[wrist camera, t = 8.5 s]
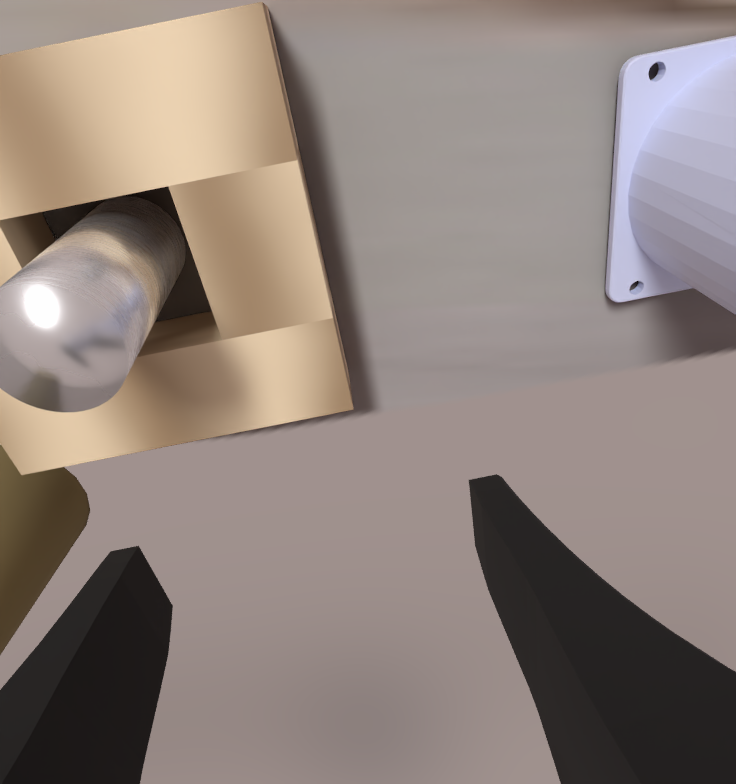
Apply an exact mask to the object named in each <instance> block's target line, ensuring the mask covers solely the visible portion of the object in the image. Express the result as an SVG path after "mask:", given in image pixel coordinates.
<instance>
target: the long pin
mask: <svg viewBox="0 0 736 784" xmlns="http://www.w3.org/2000/svg"><path fill="white" fill-rule="evenodd" d="M185 257H186V247H185V241H184V238H183V235H182V233H181V230H180V229H179V227H178V225H177V224H176V222H175V221H174V220H173V218H172V217H171V216H170V215H169V214H168V213H167V212H166V211H164V210H163V209H162V208H160V207H159V206H157V205H156V204H154V203H152V202H150V201H147V200H145V199H141V198H138V197H131V196H122V197H115V198H112V199H109V200H107V201H104V202H103V203H101V204H100V205H98V206H97V207H96V208H95V209H94V210H92V211H91V212H90V213H89V214H87V215H86V216H85V217H84V218H83V219H81V220H80V221H79V222H78V223H77V224H75V225H74V226H73V227H72V228H71V229H69V230H68V231H67V232H66V233H65V234H63V235H62V236H61V237H60V238H58V239H57V240H56V241H55V242H54V243H52V244H51V245H50V246H49V247H48V248H46V249H45V250H44V251H43V252H42V253H40V254H39V255H38V256H37V257H36V258H34V259H33V260H32V261H31V262H29V263H28V264H27V265H26V266H25V267H23V268H22V269H21V270H20V271H19V272H17V273H16V274H15V275H14V276H13V277H11V278H10V279H9V280H8V281H7V282H5V283H4V284H3V285H2V286H0V388H1V389H2V390H3V391H5V392H6V393H7V394H9V395H10V396H12V397H14V398H15V399H17V400H19V401H21V402H23V403H25V404H28V405H31V406H33V407H36V408H40V409H43V410H48V411H54V412H79V411H85V410H89V409H92V408H95V407H97V406H100V405H102V404H103V403H105V402H107V401H108V400H109V399H111V398H112V397H113V396H114V395H115V394H116V393H117V392H118V391H119V389H120V388H121V386H122V385H123V383H124V381H125V379H126V377H127V375H128V373H129V371H130V369H131V367H132V365H133V363H134V361H135V360H136V358H137V356H138V354H139V352H140V350H141V348H142V346H143V344H144V342H145V340H146V338H147V336H148V334H149V332H150V331H151V329H152V327H153V325H154V323H155V321H156V319H157V317H158V315H159V313H160V311H161V309H162V307H163V305H164V303H165V301H166V300H167V298H168V296H169V294H170V292H171V290H172V288H173V286H174V284H175V282H176V280H177V278H178V276H179V274H180V272H181V270H182V268H183V266H184V263H185Z"/></svg>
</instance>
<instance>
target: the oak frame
mask: <svg viewBox="0 0 736 784" xmlns="http://www.w3.org/2000/svg"><path fill="white" fill-rule="evenodd" d="M167 186H168V187H169V190H170V193H171V196H172V198H173V201H174V204H175V207H176V210H177V213H178V215H179V218H180V221H181V224H182V227H183V230H184V233H185V235H186V238H187V241H188V244H189V247H190V250H191V252H192V255H193V258H194V261H195V264H196V267H197V270H198V272H199V275H200V278H201V281H202V284H203V287H204V290H205V292H206V295H207V298H208V301H209V304H210V307H211V309H212V311H209V312H204V313H199V314H194V315H189V316H184V317H179V318H174V319H169V320H164V321H159V322H155V323H154V325H153V327H152V329H151V331H150V332H149V334H148V336H147V338H146V340H145V342H144V344H143V346H142V348H141V350H140V352H139V354H138V356H137V358H136V360H135V361H134V363H133V365H132V367H131V369H130V371H129V373H128V375H127V377H126V379H125V381H124V383H123V385H122V386H121V388H120V389H119V391H118V392H117V393H116V394H115V395H114V396H113V397H112V398H111V399H109V400H108V401H107V402H105V403H103V404H102V405H100V406H97V407H95V408H92V409H89V410H85V411H79V412H54V411H48V410H43V409H40V408H36V407H33V406H31V405H28V404H25V403H23V402H21V401H19V400H17V399H15V398H14V397H12V396H10V395H9V394H7V393H6V392H5V391H3V390H2V389H1V388H0V444H1V445H2V447H3V448H4V450H5V451H6V453H7V454H8V456H9V457H10V459H11V460H12V462H13V463H14V465H15V466H16V468H17V469H18V471H19V472H20V474H21V475H25V474H30V473H35V472H40V471H45V470H50V469H55V468H60V467H66V466H70V465H76V464H81V463H86V462H91V461H96V460H101V459H106V458H111V457H116V456H121V455H126V454H131V453H136V452H141V451H146V450H151V449H157V448H162V447H167V446H172V445H177V444H182V443H187V442H192V441H197V440H202V439H207V438H212V437H217V436H222V435H227V434H233V433H238V432H243V431H248V430H253V429H258V428H263V427H268V426H273V425H278V424H283V423H288V422H293V421H298V420H303V419H308V418H314V417H319V416H324V415H329V414H334V413H339V412H344V411H349V410H354V409H353V401H352V394H351V387H350V379H349V372H348V368H347V363H346V359H345V354H344V350H343V345H342V341H341V336H340V332H339V327H338V323H337V318H336V313H335V309H334V304H333V300H332V295H331V291H330V286H329V282H328V277H327V273H326V268H325V264H324V259H323V255H322V250H321V246H320V241H319V237H318V232H317V228H316V223H315V219H314V214H313V210H312V205H311V201H310V196H309V192H308V187H307V183H306V178H305V173H304V169H303V164H302V160H301V155H300V151H299V146H298V142H297V137H296V133H295V128H294V124H293V119H292V115H291V110H290V106H289V101H288V97H287V92H286V88H285V83H284V79H283V74H282V70H281V65H280V61H279V56H278V52H277V47H276V43H275V38H274V33H273V29H272V24H271V20H270V15H269V11H268V7H267V6H266V5H265V4H264V3H263V2H259V3H254V4H249V5H244V6H239V7H234V8H230V9H225V10H220V11H215V12H210V13H205V14H200V15H195V16H190V17H186V18H181V19H176V20H171V21H166V22H161V23H156V24H151V25H146V26H142V27H137V28H132V29H127V30H122V31H117V32H112V33H107V34H102V35H98V36H93V37H88V38H83V39H78V40H73V41H68V42H63V43H59V44H54V45H49V46H44V47H39V48H34V49H29V50H24V51H19V52H15V53H10V54H5V55H0V286H2V285H3V284H4V283H5V282H7V281H8V280H9V279H10V278H11V277H13V276H14V275H15V274H16V273H17V272H19V271H20V270H21V269H22V268H23V267H25V266H26V265H27V264H28V263H29V262H31V261H32V260H33V259H34V258H36V257H37V256H38V255H39V254H40V253H42V252H43V251H44V250H45V249H46V248H48V247H49V246H50V245H51V244H52V243H54V242H55V239H54V237H53V235H52V233H51V231H50V229H49V227H48V224H47V222H46V220H45V218H44V216H43V214H42V212H43V211H48V210H53V209H58V208H63V207H68V206H73V205H78V204H83V203H88V202H93V201H98V200H103V199H107V198H112V197H117V196H122V195H127V194H132V193H137V192H142V191H147V190H152V189H157V188H162V187H167Z"/></svg>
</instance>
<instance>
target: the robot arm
mask: <svg viewBox="0 0 736 784" xmlns="http://www.w3.org/2000/svg"><path fill="white" fill-rule="evenodd" d="M654 63H657V64H658V66H659V71H658V74H657V75H656V77H655V78H654V79H652V80H650V79H649V75H648V73H649V69H650V67H651V66H652V65H653V64H654ZM636 281H638V285H637V287H636V288H635V289H633V290H629V289H630V286H631V285H632V284H633V283H634V282H636ZM692 288H694V289H696V290H698V291H699V292H701V293H702V294H704V295H705V296H707V297H708V298H710V299H712V300H713V301H715V302H716V303H718V304H719V305H721V306H722V307H724V308H726V309H727V310H729V311H730V312H732V313H733V314H735V315H736V35H735V36H730V37H725V38H720V39H715V40H710V41H706V42H701V43H696V44H691V45H686V46H681V47H676V48H671V49H666V50H661V51H656V52H651V53H646V54H641V55H636V56H634V57H632V58H630V59H629V60H628V61H626V62H625V63H624V65H623V67H622V68H621V70H620V74H619V81H618V97H617V113H616V129H615V145H614V161H613V177H612V193H611V209H610V225H609V241H608V257H607V273H606V289H605V290H606V295H607V296H608V297H609V298H610V299H611V300H612V301H614V302H626V301H631V300H636V299H641V298H646V297H651V296H656V295H661V294H666V293H671V292H677V291H682V290H687V289H692ZM469 485H470V496H471V506H472V516H473V526H474V536H475V546H476V550H477V553H478V557H479V560H480V563H481V567H482V570H483V574H484V577H485V580H486V583H487V587H488V590H489V592H490V595H491V597H492V600H493V602H494V604H495V607H496V609H497V612H498V614H499V617H500V619H501V621H502V624H503V626H504V629H505V631H506V633H507V636H508V638H509V641H510V643H511V645H512V648H513V650H514V653H515V655H516V657H517V660H518V662H519V664H520V667H521V669H522V672H523V674H524V676H525V679H526V681H527V683H528V686H529V688H530V691H531V694H532V696H533V699H534V702H535V704H536V707H537V710H538V713H539V716H540V719H541V722H542V725H543V728H544V731H545V734H546V738H547V741H548V744H549V747H550V750H551V753H552V757H553V760H554V763H555V766H556V769H557V772H558V776H559V779H560V782H561V784H736V672H735V671H733V670H731V669H730V668H728V667H726V666H725V665H723V664H722V663H720V662H719V661H717V660H715V659H714V658H712V657H711V656H709V655H708V654H706V653H705V652H703V651H702V650H700V649H698V648H697V647H695V646H694V645H692V644H691V643H689V642H688V641H686V640H684V639H683V638H681V637H680V636H678V635H677V634H675V633H674V632H672V631H671V630H669V629H668V628H666V627H665V626H664V625H662V624H661V623H659V622H658V621H656V620H655V619H654V618H652V617H651V616H650V615H648V614H647V613H645V612H644V611H643V610H641V609H640V608H639V607H638V606H636V605H635V604H634V603H632V602H631V601H630V600H628V599H627V598H626V597H624V596H623V595H621V593H619V592H618V591H617V590H616V589H614V588H613V587H612V586H611V585H609V584H608V583H607V582H606V581H605V580H603V579H602V578H601V577H600V576H598V575H597V574H596V573H595V572H594V571H593V570H592V569H591V568H589V567H588V566H587V565H586V564H585V563H584V562H583V561H581V560H580V559H579V558H578V557H577V556H576V555H575V554H574V553H573V552H572V551H571V550H569V549H568V548H567V547H566V546H565V545H564V544H563V543H562V542H561V541H560V540H559V539H558V538H557V537H556V536H555V535H554V534H553V533H551V531H550V530H549V529H548V528H547V527H546V526H544V524H543V523H542V522H541V521H540V520H539V519H538V518H537V517H536V516H535V515H534V514H533V513H532V512H531V511H530V509H529V508H528V507H527V506H526V505H525V504H524V503H523V502H522V501H521V500H520V499H519V497H518V496H517V495H516V494H515V493H514V492H513V490H512V489H511V488H510V487H509V486H508V484H507V483H506V482H505V481H504V479H503V478H502V477H500V476H499V475H492V476H487V477H482V478H477V479H472V480H469ZM172 607H173V606H172V604H171V602H170V601H169V599H168V597H167V595H166V593H165V592H164V590H163V588H162V586H161V585H160V583H159V581H158V579H157V578H156V576H155V574H154V572H153V571H152V569H151V567H150V565H149V564H148V562H147V560H146V558H145V557H144V555H143V553H142V551H141V549H140V548H139V546H136V547H131V548H126V549H121V550H116V551H111V552H110V553H109V554H108V556H107V557H106V558H105V559H104V561H103V562H102V563H101V564H100V566H99V567H98V568H97V570H96V571H95V572H94V573H93V575H92V576H91V577H90V579H89V580H88V581H87V583H86V584H85V585H84V587H83V588H82V589H81V591H80V592H79V593H78V594H77V596H76V597H75V598H74V600H73V601H72V603H71V604H70V605H69V606H68V608H67V609H66V610H65V611H64V613H63V614H62V615H61V617H60V618H59V619H58V620H57V622H56V623H55V624H54V625H53V627H52V628H51V629H50V631H49V632H48V633H47V634H46V636H45V637H44V638H43V640H42V641H41V642H40V643H39V645H38V646H37V647H36V648H35V649H34V651H33V652H32V653H31V654H30V655H29V657H28V658H27V659H26V660H25V661H24V662H23V664H22V665H21V666H20V667H19V668H18V670H17V671H16V672H15V673H14V674H13V676H12V677H11V678H10V679H9V680H8V682H7V683H6V684H5V685H4V686H3V687H2V689H1V690H0V784H140V780H141V774H142V769H143V764H144V760H145V755H146V751H147V746H148V742H149V737H150V733H151V728H152V724H153V720H154V716H155V711H156V707H157V702H158V698H159V694H160V689H161V685H162V680H163V675H164V671H165V666H166V661H167V657H168V651H169V642H170V632H171V620H172Z"/></svg>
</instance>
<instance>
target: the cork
mask: <svg viewBox="0 0 736 784" xmlns="http://www.w3.org/2000/svg"><path fill="white" fill-rule="evenodd" d="M89 513H90V508H89V502H88V498H87V493H86V492H85V490H84V489H83V487H82V486H81V484H80V483H79V481H78V480H77V478H76V477H75V476H74V475H72V474H71V473H70V472H69V471H68V470H67V469H65V468H64V467H60V468H55V469H50V470H45V471H40V472H35V473H30V474H25V475H21V474H20V472H19V471H18V469H17V468H16V466H15V465H14V463H13V462H12V460H11V459H10V457H9V456H8V454H7V453H6V451H5V450H4V448H3V447H2V445H0V654H1V653H2V652H3V650H4V649H5V647H6V646H7V644H8V642H9V641H10V639H11V638H12V636H13V635H14V633H15V632H16V630H17V629H18V627H19V626H20V624H21V623H22V621H23V620H24V618H25V617H26V615H27V614H28V612H29V611H30V609H31V608H32V606H33V605H34V603H35V602H36V600H37V599H38V597H39V596H40V594H41V593H42V591H43V589H44V588H45V587H46V585H47V584H48V582H49V581H50V579H51V578H52V576H53V574H54V573H55V571H56V570H57V569H58V567H59V565H60V564H61V562H62V561H63V559H64V558H65V556H66V555H67V553H68V552H69V550H70V548H71V547H72V546H73V544H74V543H75V541H76V540H77V538H78V537H79V535H80V534H81V532H82V531H83V529H84V528H85V526H86V524H87V520H88V516H89Z"/></svg>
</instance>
